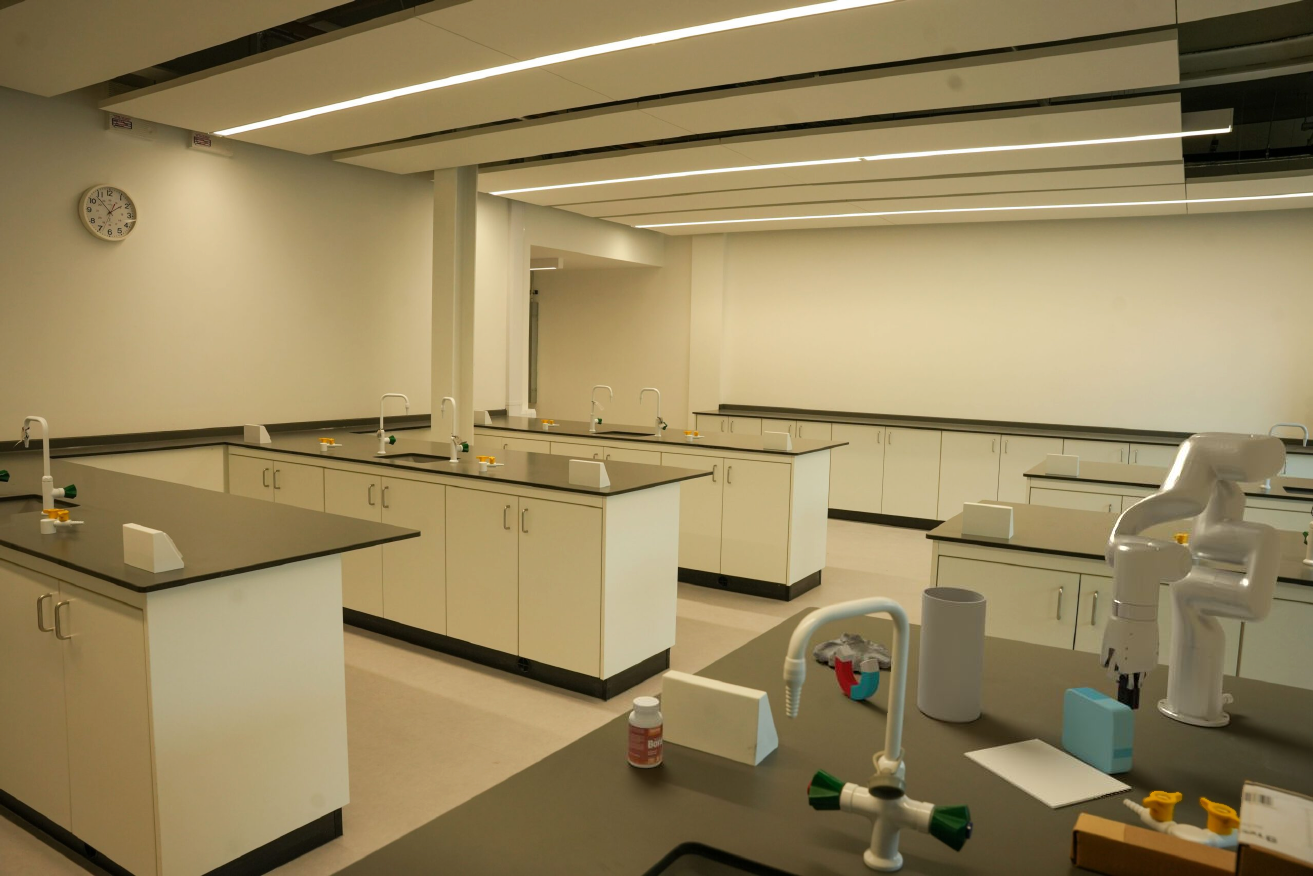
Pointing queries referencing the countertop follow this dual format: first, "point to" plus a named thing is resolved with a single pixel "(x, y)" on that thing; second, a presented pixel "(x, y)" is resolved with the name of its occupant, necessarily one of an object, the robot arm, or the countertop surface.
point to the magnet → (847, 678)
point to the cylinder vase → (951, 653)
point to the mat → (1046, 773)
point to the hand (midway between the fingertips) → (1127, 706)
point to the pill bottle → (645, 733)
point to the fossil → (858, 646)
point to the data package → (1098, 730)
